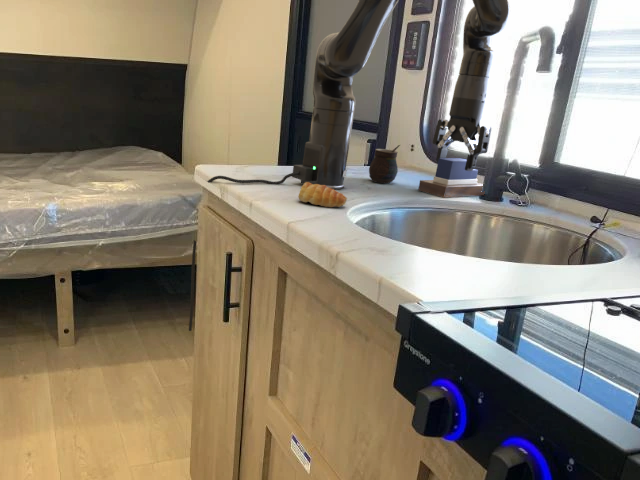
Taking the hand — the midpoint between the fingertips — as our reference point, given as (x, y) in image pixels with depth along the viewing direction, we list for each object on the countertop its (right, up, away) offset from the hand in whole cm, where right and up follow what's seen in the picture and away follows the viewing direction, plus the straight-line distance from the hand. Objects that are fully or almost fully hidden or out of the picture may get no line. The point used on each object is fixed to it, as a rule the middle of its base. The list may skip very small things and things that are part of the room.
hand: (454, 167), depth 145 cm
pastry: (-36, -13, -23) cm, 44 cm away
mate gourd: (-15, -2, +9) cm, 18 cm away
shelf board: (+1, -6, +3) cm, 6 cm away
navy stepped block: (+1, -3, +2) cm, 4 cm away
